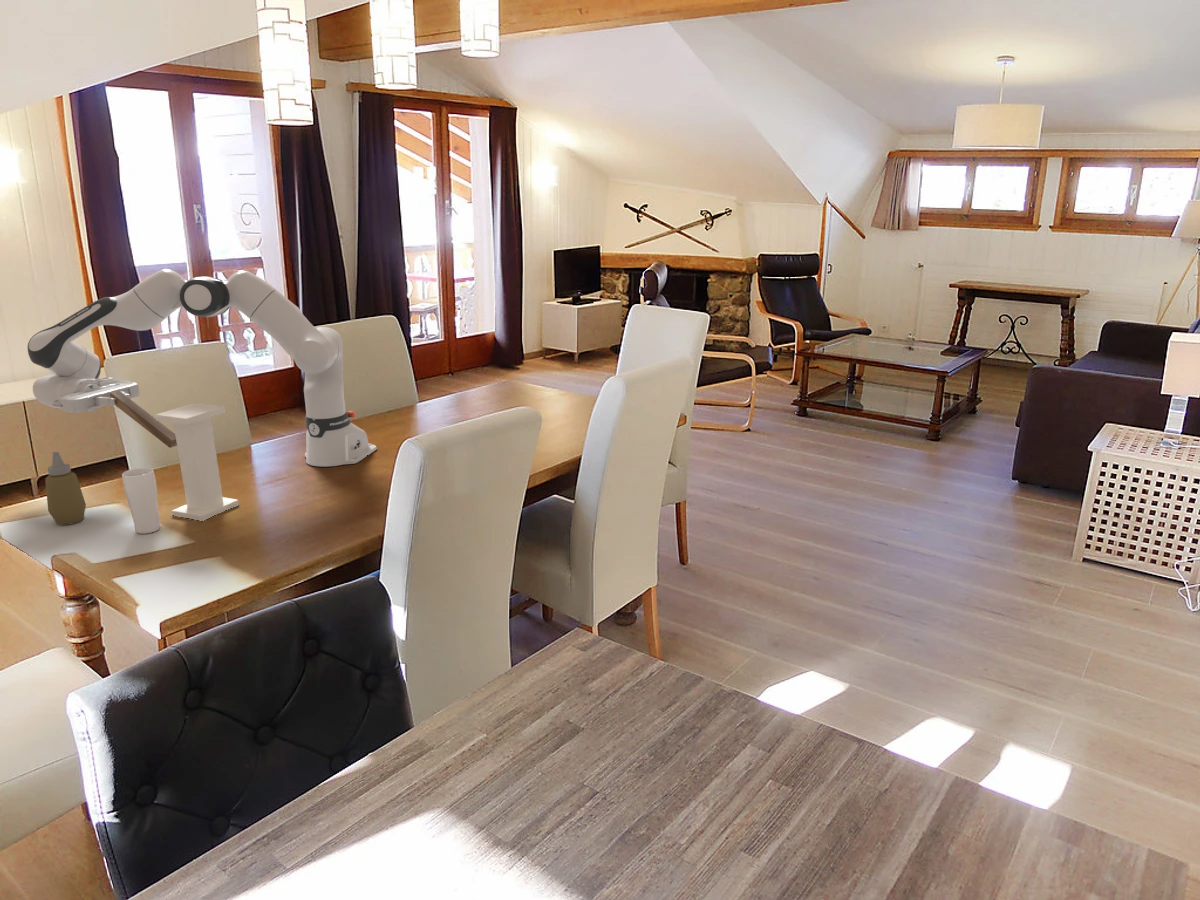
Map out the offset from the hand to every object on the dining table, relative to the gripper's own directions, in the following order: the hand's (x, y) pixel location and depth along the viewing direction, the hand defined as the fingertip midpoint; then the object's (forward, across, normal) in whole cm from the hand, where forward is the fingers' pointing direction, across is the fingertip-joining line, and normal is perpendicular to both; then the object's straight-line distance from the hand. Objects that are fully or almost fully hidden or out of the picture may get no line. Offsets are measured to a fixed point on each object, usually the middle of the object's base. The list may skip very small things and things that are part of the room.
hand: (121, 399), depth 225 cm
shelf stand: (+28, -4, +26) cm, 38 cm away
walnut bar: (+6, 0, +6) cm, 8 cm away
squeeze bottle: (+2, -22, +26) cm, 34 cm away
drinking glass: (+25, -19, +26) cm, 40 cm away
